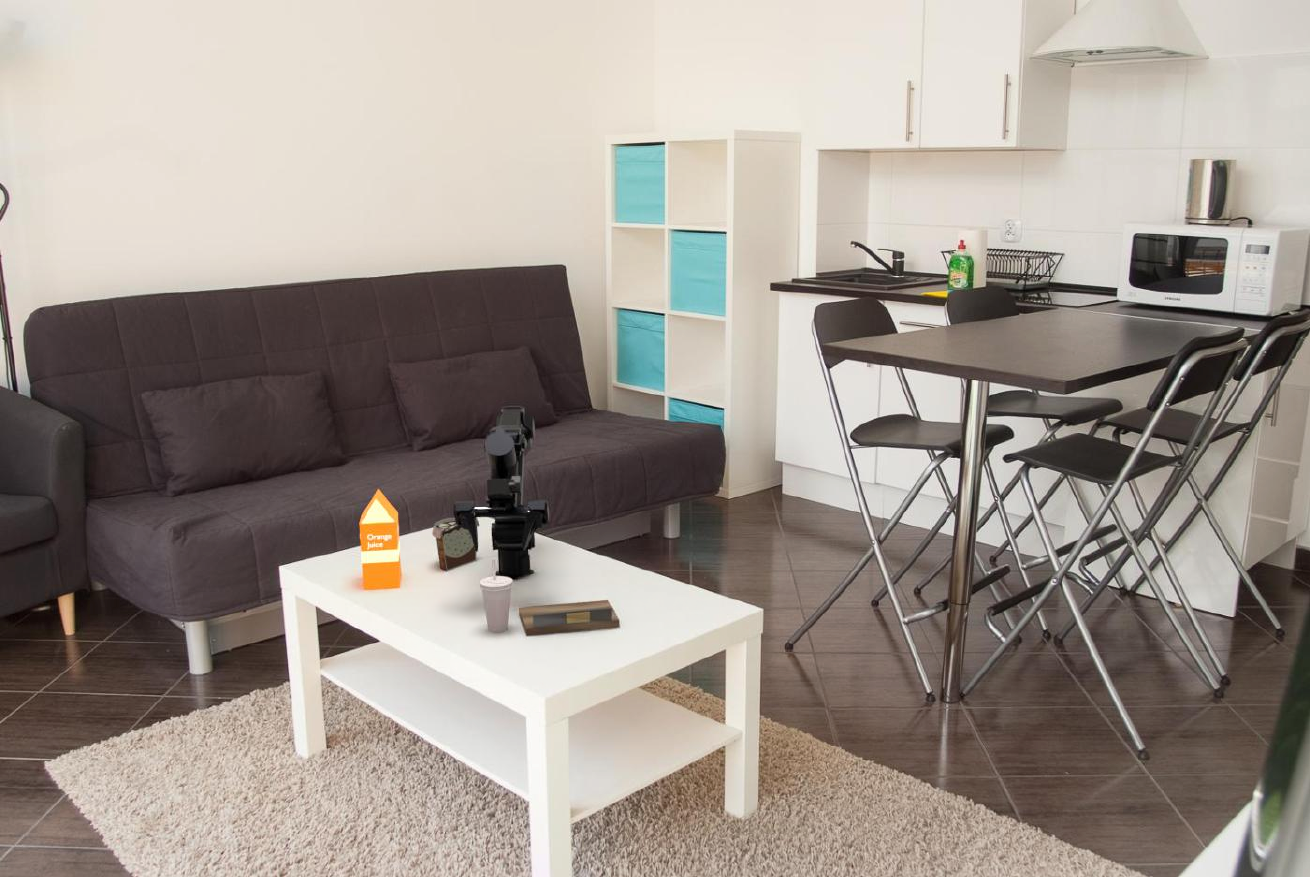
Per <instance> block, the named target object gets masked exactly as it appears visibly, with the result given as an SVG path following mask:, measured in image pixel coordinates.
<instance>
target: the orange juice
mask: <svg viewBox="0 0 1310 877" xmlns="http://www.w3.org/2000/svg"><path fill="white" fill-rule="evenodd" d="M358 525H359V539H360V550H361V551H360V555H361V565H362V566H361V567H362V569H361V570H362V579H363V580H362V582H363V591H372V590H373V591H376V590H389V589H392V590H393V589H400V588H401V580H402V565H401V544H400V542H401V541H400V525H399V512H398V511H397V510H396V509H395V507H393V505H392V504H391V502H390V501H389V500H388V499H387V497H386V496H385V495H384V494H383V493H382V492H381V490H380V488H378V489H377V491H376V493H375V494H374V495H373V497H372V498H371V500H370V502H369V503H368V505H367V506H366V508H365V509H364V510H363V512H362V514H361V517H360V521H359V524H358Z"/></svg>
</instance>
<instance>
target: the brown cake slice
mask: <svg viewBox="0 0 1310 877" xmlns="http://www.w3.org/2000/svg"><path fill="white" fill-rule="evenodd" d="M476 524H477V527H480V523H479V520H478V518H477V519H476ZM432 528H433V529H432V533H431V534H432V536H433V537H434V538H435V542H436V548H437V557H438V562H439V568H440V570H441V571H443V572H450V571H453V570H455V569H458V568H461V567H464V566H466V565H468V564H472V563H474V562H477V552H476V551H475V547H474V544H473V540H472V537H471V535H470V533H469V531H468V529H463V528H462V526H458V525H456V521H455V517H454V516H453V517H449V518H444V519H441V520H438V521H436V522H435V523H434V526H433V527H432Z"/></svg>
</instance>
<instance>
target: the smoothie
mask: <svg viewBox="0 0 1310 877" xmlns="http://www.w3.org/2000/svg"><path fill="white" fill-rule="evenodd" d="M491 565H492V566H491V567H492V576H487V577H484V578H482V579H480V580H479V588H480V589H481V593H482V594H481V596H482V600H483V607H484V612H485V618H486V625H487V630H488V631H489V632H491V633H503V632H506V631H507V630H508V628H509V614H510V606H511V596H512V595H511V594H512V588H513V586H514V583H513V582H514V581H513V579H511V578H509V577H505V576H496V573H495V572H496V558H495V557H494V558H493V557H492V559H491Z"/></svg>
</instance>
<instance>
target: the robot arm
mask: <svg viewBox="0 0 1310 877" xmlns="http://www.w3.org/2000/svg"><path fill="white" fill-rule="evenodd" d="M500 412H501V413H500V414H499V415H498V416H497V417H496V426H493V427H492V428H491V429H490V430H489V434H486V437H485V441H484V444H483V446H484V447H483V448H484V452H485V454H486V459H487V463H488V465H489V479H486V488H485V489H486V491H485V492H486V494H485V495H486V496H485V503H486V504H487V507H485V506H483V507H482V506H481V507H476V505H475V501H474V500H460V501H459V500H458V501H456V502H455V503H454V504H453V508H452V513H453V518H454V517H455V521H456V525H458V526H462V528H463V529H468V531H469V533H470V535H471V537H472V540H473V544H474V547H475V551H476V552H479V551H478V550H479V532H478V526H477V524H476V519H478V518H494V522H492V523H491V542H492V545H491V546H492V551H497V558H498V560H497V563H498V570H497V571H495V573H496V576H505V577H509V578H511V579H512V580H514V581H515V580H519V579H521V578H524V577H526V576H528V575H531V574H533V573H534V572H535V570H534V569H531V561H530V560H531V559H530V558H531V556H530V554H529V550H530V551H531V550H532V549H533V548H536V538H535V533H536V531H537V530H538V529H541V528H543V525H545V526H546V525H549V524H550V511H549V510H550V509H549V502H548V501H547V500H546V499H528V500H527V506H525V505H523V495H524V476H525V475H524V474H525V473H524V472H525V457H526V456H527V454H528V453H529V452H530V451H531V450H532V447H533V446H532V444H533V440H535V439H536V426H535V425H536V424H535V420H534V416H532V415H531V414H529V413H528V412H526V411H525V407H524V406H523V407H522V406H521V405H510V406H509V405H506V406H504V407H501V410H500Z"/></svg>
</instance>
